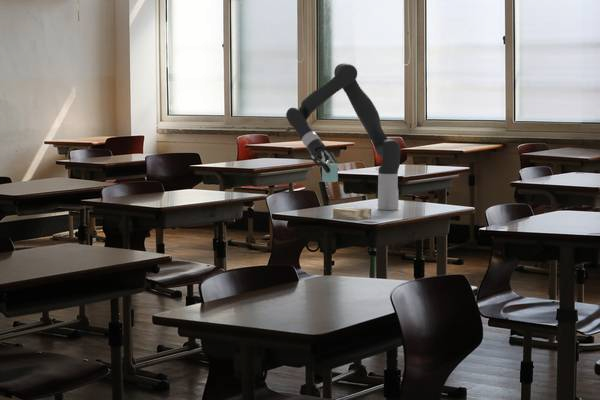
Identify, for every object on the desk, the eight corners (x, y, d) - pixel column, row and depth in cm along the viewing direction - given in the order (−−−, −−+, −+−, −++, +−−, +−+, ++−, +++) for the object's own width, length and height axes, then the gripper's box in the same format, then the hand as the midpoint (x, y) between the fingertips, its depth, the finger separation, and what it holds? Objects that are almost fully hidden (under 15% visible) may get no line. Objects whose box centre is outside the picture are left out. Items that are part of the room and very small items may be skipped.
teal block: (329, 180, 454) (329, 163, 453) (337, 181, 450) (337, 163, 450) (322, 181, 450) (322, 163, 449) (330, 182, 447) (330, 164, 446)
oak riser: (350, 215, 451) (350, 206, 451) (371, 217, 443) (371, 208, 443) (332, 217, 442) (333, 208, 442) (354, 220, 434) (354, 210, 434)
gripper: (307, 138, 448) (327, 166, 441) (328, 137, 459) (348, 165, 452) (298, 149, 452) (318, 177, 445) (319, 148, 463) (339, 176, 456)
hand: (333, 171), depth 449 cm, fingers closed on teal block, 5 cm apart
